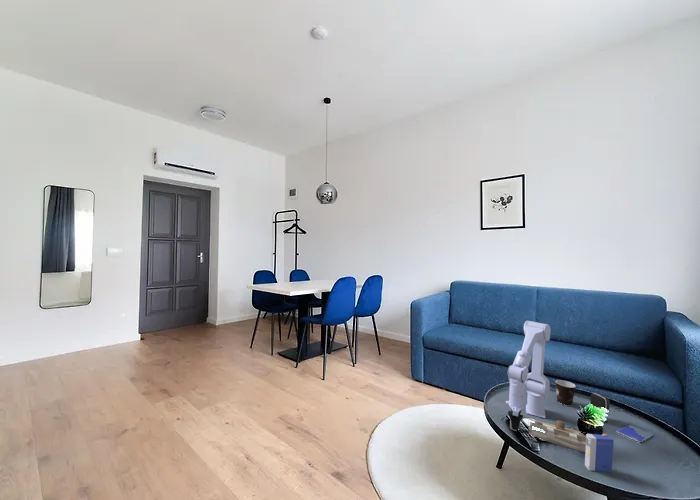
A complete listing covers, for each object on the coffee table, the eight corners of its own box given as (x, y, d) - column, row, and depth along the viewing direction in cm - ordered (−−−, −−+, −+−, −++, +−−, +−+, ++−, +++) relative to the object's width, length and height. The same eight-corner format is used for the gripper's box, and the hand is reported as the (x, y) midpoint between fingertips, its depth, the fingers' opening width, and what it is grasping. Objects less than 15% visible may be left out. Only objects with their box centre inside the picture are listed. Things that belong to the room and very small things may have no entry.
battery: (610, 422, 146) (611, 398, 146) (603, 423, 145) (604, 398, 145) (595, 414, 153) (596, 391, 153) (588, 415, 152) (590, 391, 152)
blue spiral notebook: (640, 441, 131) (653, 433, 137) (616, 430, 138) (629, 423, 144) (639, 444, 131) (653, 437, 137) (615, 433, 138) (629, 427, 144)
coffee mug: (555, 397, 170) (555, 378, 169) (574, 402, 165) (575, 383, 164) (553, 405, 160) (554, 386, 160) (574, 411, 155) (575, 391, 155)
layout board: (528, 420, 146) (529, 411, 146) (593, 437, 134) (593, 428, 134) (528, 436, 134) (529, 426, 133) (599, 456, 122) (600, 445, 122)
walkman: (606, 466, 116) (607, 434, 116) (612, 472, 113) (613, 438, 113) (583, 464, 117) (585, 432, 116) (588, 470, 114) (590, 437, 114)
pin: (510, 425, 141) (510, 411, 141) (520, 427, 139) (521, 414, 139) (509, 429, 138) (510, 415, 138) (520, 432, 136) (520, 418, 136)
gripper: (507, 385, 147) (506, 414, 147) (505, 398, 134) (503, 430, 134) (524, 389, 143) (523, 419, 143) (524, 402, 131) (523, 435, 131)
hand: (515, 424), depth 139 cm, fingers open, 7 cm apart
